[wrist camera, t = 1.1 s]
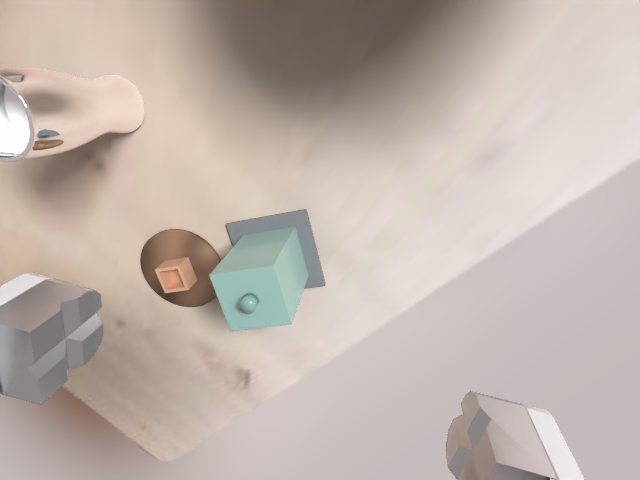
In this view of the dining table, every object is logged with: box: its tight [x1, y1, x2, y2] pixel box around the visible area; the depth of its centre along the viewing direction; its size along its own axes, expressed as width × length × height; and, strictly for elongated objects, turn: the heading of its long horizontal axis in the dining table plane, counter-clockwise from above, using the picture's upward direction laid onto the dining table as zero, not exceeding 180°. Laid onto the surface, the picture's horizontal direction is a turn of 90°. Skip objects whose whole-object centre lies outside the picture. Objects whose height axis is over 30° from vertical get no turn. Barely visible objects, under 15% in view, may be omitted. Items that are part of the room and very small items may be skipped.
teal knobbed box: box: [209, 226, 309, 331], centre depth 40 cm, size 7×7×11 cm
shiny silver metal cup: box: [0, 67, 145, 162], centre depth 34 cm, size 7×7×15 cm
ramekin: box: [155, 257, 197, 293], centre depth 47 cm, size 3×3×2 cm
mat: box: [226, 209, 325, 289], centre depth 46 cm, size 10×10×1 cm
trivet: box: [141, 229, 221, 307], centre depth 48 cm, size 11×11×1 cm
